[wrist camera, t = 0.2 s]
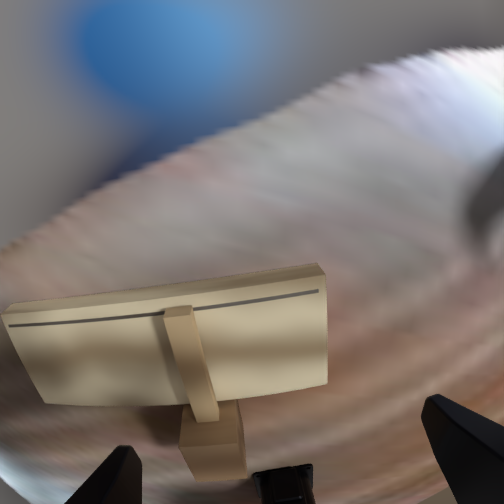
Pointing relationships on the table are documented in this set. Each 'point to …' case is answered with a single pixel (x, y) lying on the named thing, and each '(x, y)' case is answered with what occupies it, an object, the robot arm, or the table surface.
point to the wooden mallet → (204, 408)
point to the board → (158, 344)
